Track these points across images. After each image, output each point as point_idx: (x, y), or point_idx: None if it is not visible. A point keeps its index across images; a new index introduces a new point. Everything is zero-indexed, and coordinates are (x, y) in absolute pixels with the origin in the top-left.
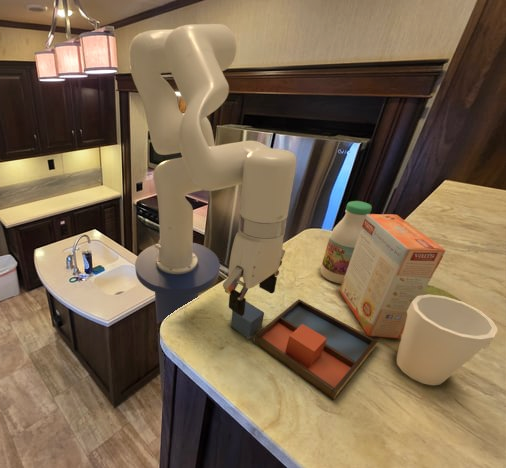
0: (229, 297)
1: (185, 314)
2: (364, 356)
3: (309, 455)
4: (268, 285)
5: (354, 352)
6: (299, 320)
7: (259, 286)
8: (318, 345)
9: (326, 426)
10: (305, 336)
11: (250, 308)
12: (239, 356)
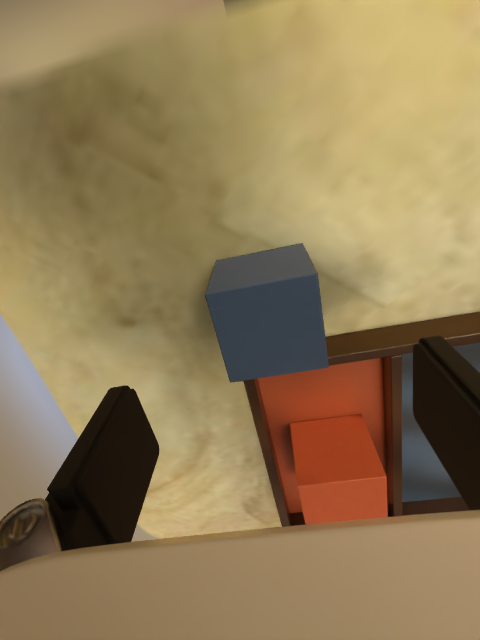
0: (75, 444)
1: (49, 87)
2: None
3: (160, 533)
4: (437, 427)
5: (442, 488)
6: None
7: (415, 346)
8: None
9: (224, 524)
10: (339, 505)
11: (294, 323)
12: (164, 368)
